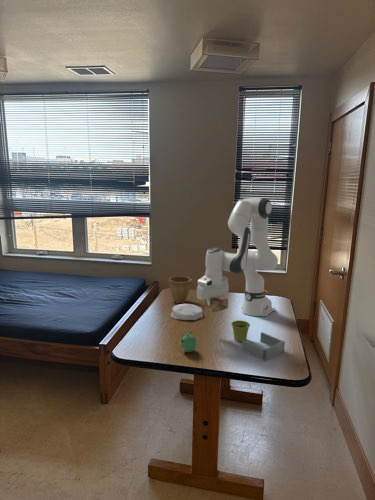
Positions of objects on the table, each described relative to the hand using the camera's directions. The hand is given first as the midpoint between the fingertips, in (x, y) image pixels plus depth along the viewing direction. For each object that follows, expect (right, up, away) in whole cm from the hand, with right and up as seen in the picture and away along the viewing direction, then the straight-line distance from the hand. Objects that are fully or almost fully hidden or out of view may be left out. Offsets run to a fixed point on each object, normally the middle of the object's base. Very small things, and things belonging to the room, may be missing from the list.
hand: (213, 304), depth 180 cm
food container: (-14, -12, +28) cm, 34 cm away
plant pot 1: (-19, -7, +51) cm, 55 cm away
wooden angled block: (+1, -2, -1) cm, 2 cm away
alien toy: (-13, -20, -17) cm, 29 cm away
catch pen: (+23, -20, -15) cm, 34 cm away
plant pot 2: (+14, -18, -4) cm, 23 cm away
